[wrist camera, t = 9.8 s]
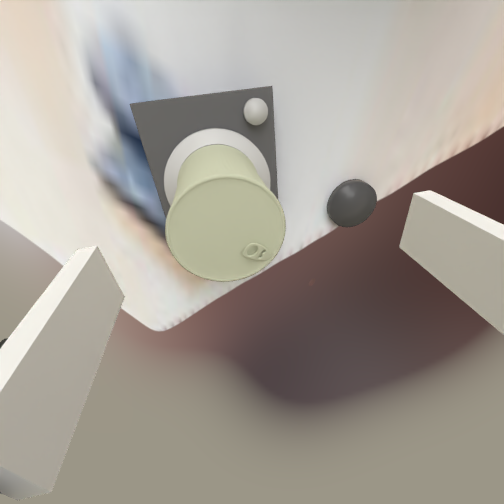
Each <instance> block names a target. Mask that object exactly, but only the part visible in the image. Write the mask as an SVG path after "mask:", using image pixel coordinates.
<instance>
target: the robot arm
mask: <svg viewBox="0 0 504 504" xmlns="http://www.w3.org/2000/svg"><path fill="white" fill-rule="evenodd" d="M399 247H400V248H401V249H402V250H403V251H404V252H406V253H407V254H408V255H409V256H410V257H412V258H413V259H414V260H415V261H416V262H418V263H419V264H420V265H421V266H422V267H424V268H425V269H426V270H427V271H428V272H429V273H431V274H432V275H433V276H434V277H435V278H437V279H438V280H439V281H440V282H442V283H443V284H444V285H445V286H446V287H447V288H449V289H450V290H451V291H452V292H454V294H456V295H457V296H458V297H459V298H460V299H462V300H463V301H464V302H465V303H467V304H468V305H469V306H470V307H471V308H472V309H474V310H475V311H476V312H477V313H478V314H479V315H481V316H482V317H483V318H484V319H485V320H487V321H488V322H489V323H490V324H492V325H493V326H494V327H495V328H496V329H498V330H499V331H500V332H501V333H502V334H503V335H504V225H503V224H501V223H498V222H496V221H494V220H492V219H490V218H488V217H486V216H484V215H482V214H479V213H477V212H475V211H473V210H471V209H469V208H467V207H465V206H463V205H460V204H458V203H456V202H454V201H452V200H450V199H447V198H446V197H443V196H441V195H439V194H437V193H435V192H433V191H424V192H418V193H414V194H413V198H412V201H411V205H410V209H409V212H408V216H407V220H406V224H405V227H404V231H403V235H402V239H401V242H400V246H399ZM123 300H124V295H123V293H122V291H121V289H120V287H119V286H118V284H117V282H116V280H115V278H114V276H113V274H112V273H111V271H110V269H109V267H108V265H107V263H106V261H105V260H104V258H103V256H102V254H101V252H100V250H99V248H98V247H97V246H94V247H88V248H82V249H77V250H76V251H75V252H74V254H73V255H72V256H71V258H70V259H69V260H68V262H67V263H66V264H65V265H64V267H63V268H62V270H61V271H60V272H59V273H58V274H57V276H56V277H55V278H54V280H53V281H52V282H51V284H50V285H49V286H48V287H47V289H46V290H45V291H44V293H43V294H42V295H41V297H40V298H39V299H38V300H37V302H36V303H35V304H34V306H33V307H32V308H31V309H30V311H29V312H28V313H27V315H26V316H25V317H24V319H23V320H22V321H21V322H20V324H19V325H18V326H17V328H16V329H15V330H14V332H13V333H12V334H11V336H10V337H9V338H7V339H4V340H2V341H1V342H0V493H1V494H4V495H6V496H8V497H11V498H13V499H15V500H20V499H25V498H29V497H33V496H38V495H42V494H46V493H51V491H52V489H53V486H54V484H55V481H56V478H57V475H58V473H59V470H60V467H61V465H62V462H63V459H64V457H65V454H66V451H67V449H68V446H69V444H70V441H71V438H72V435H73V433H74V430H75V427H76V425H77V422H78V420H79V417H80V414H81V411H82V409H83V406H84V404H85V401H86V398H87V396H88V393H89V390H90V388H91V385H92V382H93V380H94V377H95V374H96V372H97V369H98V366H99V364H100V361H101V358H102V356H103V353H104V350H105V348H106V345H107V342H108V340H109V337H110V334H111V332H112V329H113V327H114V324H115V321H116V319H117V316H118V313H119V310H120V308H121V305H122V303H123Z"/></svg>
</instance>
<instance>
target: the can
mask: <svg viewBox="0 0 504 504" xmlns="http://www.w3.org/2000/svg"><path fill="white" fill-rule="evenodd" d="M285 228H286V224H285V216H284V212H283V209H282V207H281V204H280V202H279V201H278V199H277V198H276V196H275V195H274V194H273V193H272V192H271V191H270V190H269V189H268V188H267V186H266V185H265V184H264V182H263V181H262V179H261V178H260V176H259V175H258V174H257V171H256V168H255V166H254V165H253V163H252V162H251V160H250V159H249V158H248V157H247V156H246V155H245V154H243V153H242V152H241V151H239V150H237V149H235V148H233V147H230V146H226V145H209V146H205V147H202V148H200V149H198V150H196V151H195V152H193V153H192V154H191V155H190V156H189V157H188V158H187V159H186V160H185V161H184V163H183V164H182V166H181V168H180V171H179V174H178V179H177V189H176V192H175V196H174V199H173V203H172V205H171V207H170V209H169V212H168V215H167V219H166V225H165V233H166V240H167V244H168V246H169V249H170V251H171V253H172V255H173V256H174V258H175V259H176V260H177V261H178V263H179V264H180V265H181V266H182V267H184V268H185V269H186V270H187V271H189V272H191V273H192V274H194V275H196V276H198V277H201V278H204V279H207V280H212V281H221V282H227V281H235V280H240V279H244V278H247V277H249V276H252V275H254V274H256V273H257V272H259V271H260V270H262V269H263V268H265V267H266V266H267V265H268V264H269V263H270V262H271V261H272V260H273V259H274V258H275V256H276V255H277V253H278V252H279V250H280V248H281V246H282V243H283V240H284V236H285Z"/></svg>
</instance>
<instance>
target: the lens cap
mask: <svg viewBox="0 0 504 504" xmlns="http://www.w3.org/2000/svg"><path fill="white" fill-rule="evenodd" d="M376 202H377V196H376V192H375V190H374V189H373V188H372V187H371V186H370V185H368V184H367V183H365V182H364V181H362V180H358V179H353V180H348V181H346V182H343V183H342V184H340V185H339V186H338V187H337V188H336V189H335V190H334V191H333V192H332V194H331V195H330V197H329V200H328V204H327V211H328V214H329V216H330V218H331V219H332V220H333V221H334V222H335V223H336V224H337V225H339V226H342V227H353V226H356V225H358V224H360V223H362V222H364V221H365V220H366V219H367V218H368V217H369V216H370V215H371V214H372V212H373V210H374V208H375V206H376Z"/></svg>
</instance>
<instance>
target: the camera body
mask: <svg viewBox="0 0 504 504" xmlns="http://www.w3.org/2000/svg"><path fill="white" fill-rule="evenodd" d="M130 107H131V110H132V113H133V116H134V119H135V122H136V125H137V129H138V132H139V135H140V138H141V141H142V144H143V148H144V151H145V154H146V157H147V160H148V163H149V166H150V170H151V173H152V176H153V179H154V182H155V185H156V188H157V192H158V195H159V198H160V201H161V204H162V207H163V210H164V214H165V217H166V219H167V215H168V212H169V209H170V207H171V205H172V203H173V199H174V196H175V192H176V189H177V179H178V174H179V171H180V168H181V166H182V164H183V163H184V161H185V160H186V159H187V158H188V157H189V156H190V155H191V154H192V153H193V152H195V151H196V150H198V149H200V148H202V147H205V146H209V145H226V146H230V147H233V148H235V149H237V150H239V151H241V152H242V153H243V154H245V155H246V156H247V157H248V158H249V159H250V160H251V162H252V163H253V165H254V166H255V168H256V171H257V174H258V175H259V176H260V178H261V179H262V181H263V182H264V184H265V185H266V186H267V188H268V189H269V190H270V191H271V192H272V193H273V194H274V195H275V196H276V198H277V199H278V191H277V171H276V151H275V131H274V112H273V92H272V86H269V87H260V88H252V89H244V90H236V91H228V92H220V93H212V94H203V95H195V96H187V97H179V98H171V99H163V100H155V101H147V102H139V103H133V104H130Z"/></svg>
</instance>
